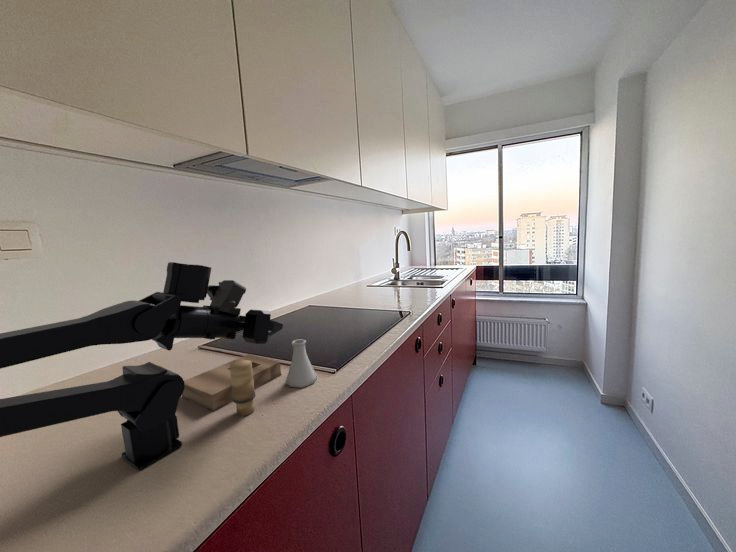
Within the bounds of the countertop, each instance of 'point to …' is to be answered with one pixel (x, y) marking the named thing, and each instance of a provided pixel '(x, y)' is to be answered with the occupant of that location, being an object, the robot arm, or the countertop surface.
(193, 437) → the countertop surface
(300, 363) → the flask
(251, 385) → the oak peg
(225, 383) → the wooden peg board
